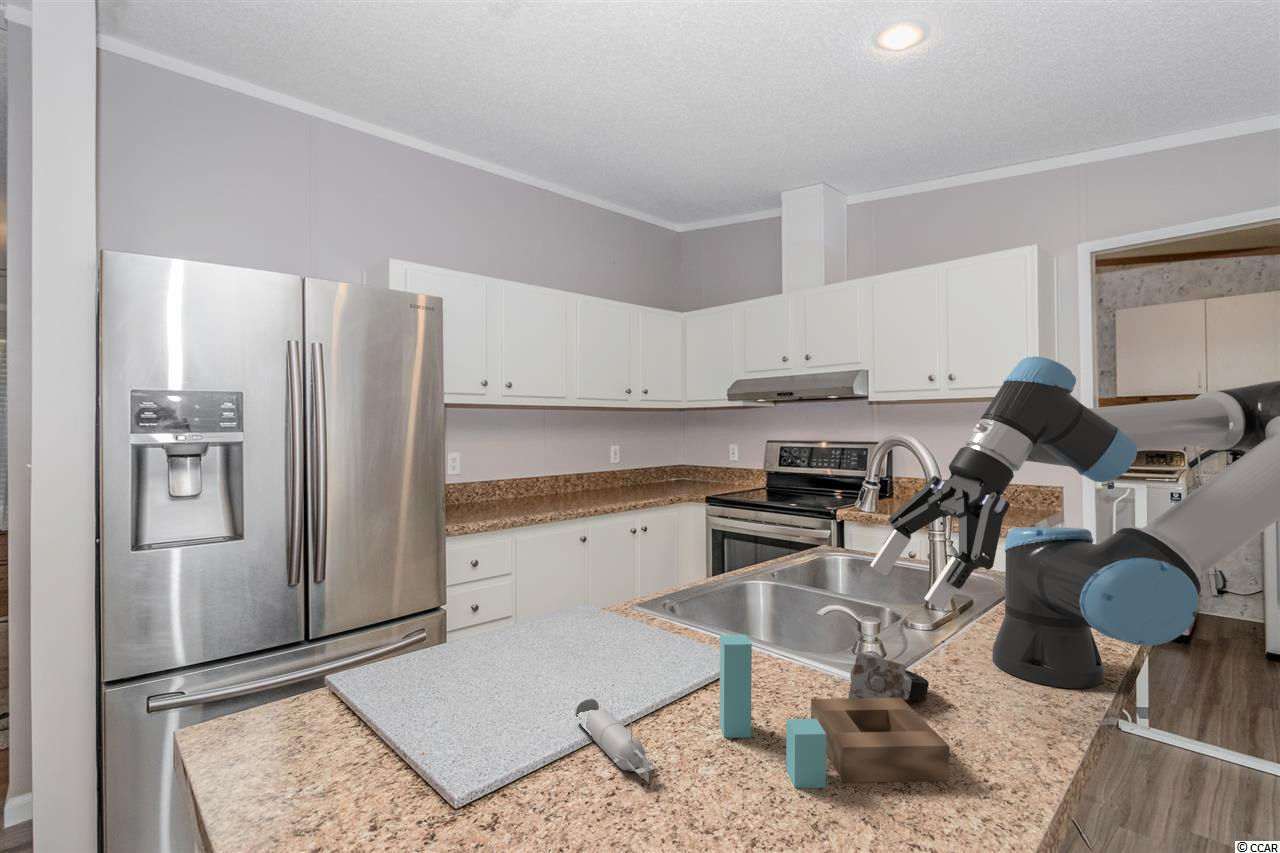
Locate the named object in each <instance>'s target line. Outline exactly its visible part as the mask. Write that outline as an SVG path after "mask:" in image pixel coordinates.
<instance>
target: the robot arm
mask: <svg viewBox="0 0 1280 853" xmlns="http://www.w3.org/2000/svg"><path fill="white" fill-rule="evenodd" d="M1076 383H1077V377H1076V376H1075V375H1074V374H1073V371H1072V370H1071V369H1069V367H1067V366H1065V365H1064V364H1062V363H1060V362H1058V361H1055V360H1053V359H1050V358H1046V357H1041V356H1032V357H1031V356H1030V357H1029V356H1028V357H1025V358H1023V359H1021V360H1020V361H1019V362H1018V363H1017V364H1016V366H1015V367H1013V369H1012V370H1011V372H1009V375H1008V376H1006V378H1005V379H1004V380H1003V382H1002V385H1001V387H1000V388H999V389H998V392H997V393H996V394H995V396H994V398H993V399H992V401H991V402H990V404H989V405H988V407H987V408H986V410H985V411H984V413H983V414H982V415H981V417H980V418H979V421H978V423H976V424H975V426H974V428H973V430H972V431H971V433H970V434H969V436H968V437H967V439H966V440H965V441H964V446H963V447H961V448H959V450H958V451H957V452H956V454H955V455H954V457H953V458H952V460H951V462H950V463H949V465H948V470H949V472H950V477H949V478H948V479H947V480H946V481H944V480H942V479H941V478H940V477H939V476H936V475H933V476H931V478H929V480H928V481H927V482H926V484H925V485H924V487H922V488H921V489H920V490H919V491H917V493H916V494H914V495H913V496H912V497H911V498H910V499H909V500H907V501H906V502H905V503H904V504H902V506H901V507H899V508H898V509H897V510H896V511H895V512H894V513H893V514H891V515H890V516H889V517H888V518H887V519H888V520H887V521H888V522H889V523H890V524H891V526H892V527H891V528H892V530H891V532H890V533H889V535H888V536H887V538H886V539H885V541H884V543H883V545H882V547H881V548H880V550H879V551H878V553H877V554H876V555H875V557H874V559H873V561H872V562H871V563H870V565H869V566H870V567H872V568H873V569H875V571H877V572H879V573H880V574H882V575H883V576H884V577H887V576H888V575H889V573H890V571H891V570H892V569H893V567H894V566H895V564H896V563H897V561H898V559H899V558H900V556H901V555H902V554H903V552H904V551H905V549H906V548H907V546H908V545H909V543H910V541H911V539H912V534H914V533H916V532H918V531H919V530H921V529H923V528H924V527H926V526H928V525H929V524H931V523H933V522H935V521H936V520H938V519H940V518H946V517H952V518H956V519H958V552H956V553H954V554H953V555H954V556H951V558H950V559H949V560H948V562H947V563H946V565H945V566H944V568H943V570H942V571H941V572H940V574H939V575H938V577H936V580H935V581H934V583H933V584H932V585H931V587H930V589H929V591H928V592H927V593H926V595H925V597H924V598H923V599H924V600H926V601H927V602H929V603H930V604H932V605H933V606H935V607H936V608H937V609H938V610H940V611H942V612H944V611H945V609H946V608H947V606H948V605H949V603H950V602H951V600H952V599H953V598H954V596H955V595H956V593H957V591H958V590H960V589H962V588H963V586H964V585H965V583H966V582H967V580H968V579H969V577H970V576H971V575H972V572H973V571H974V570H978V569H979V568H980V569H982V568H984V569H985V570H987V571H988V570H991V569H993V567H994V564H995V559H996V554H997V549H998V544H999V539H1000V535H1001V534H1000V533H1001V529H1002V526H1003V519H1004V518H1005V515H1006V513H1007V512H1008V509H1009V508H1010V505H1011V504H1010V502H1009V501H1008V500H1006V499H1005V498H1003V497H1002V495H1003V494H1004V492H1005V491H1006V490H1007V487H1008V486H1009V485H1010V483H1011V482H1012V480H1013V479H1014V477H1015V476H1014V475H1015V474H1014V472H1017V471H1020V469H1021V468H1022V466H1023V464H1024V463H1025V462H1031V463H1040V464H1046V465H1052V466H1053V465H1055V466H1062V467H1070V468H1072V469H1074V470H1075V471H1076V472H1078V474H1079V475H1080V476H1084V477H1086V478H1087V479H1089V480H1091V481H1094V482H1096V483H1105V482H1106V483H1108V482H1111V481H1114V480H1115V479H1118V478H1120V477H1121V476H1123V475H1124V474H1125V473H1126V472H1127V471H1129V469H1130V468H1131V465H1132V464H1133V463H1134V462H1135V460H1136V458H1137V456H1138V454H1137V453H1138V452H1141V451H1142V452H1143V451H1152V450H1153V451H1155V450H1167V449H1176V448H1177V449H1178V448H1188V447H1200V446H1201V447H1203V448H1205V449H1207V450H1211V451H1226V450H1240V451H1241V450H1243V451H1247V452H1246V453H1245V454H1243V455H1242V456H1240V457H1239V458H1238V459H1237V460H1235V461H1234V462H1232V463H1231V464H1230V465H1228V466H1227V467H1225V468H1224V469H1222V470H1221V471H1219V472H1218V473H1217V474H1215V475H1214V476H1213V477H1211V478H1210V479H1209V480H1207V481H1206V482H1204V483H1203V484H1201V486H1199V487H1198V488H1196V489H1195V490H1193V491H1192V492H1191V493H1189V494H1188V495H1186V496H1185V497H1184V498H1182V499H1181V500H1180V501H1178V502H1177V503H1176V504H1173V505H1172V506H1171V507H1169V508H1168V509H1167V510H1166V511H1164V512H1163V513H1162V514H1161V515H1159V516H1158V517H1156V518H1154V519H1153V520H1151V522H1149V523H1148V524H1147V525H1144V527H1137V526H1125V527H1123V528H1121V529H1119V530H1117V531H1116V532H1115V533H1113V534H1111V535H1110V536H1109V537H1107V538H1106V539H1105V540H1103V541H1102V542H1101V543H1099V544H1095V543H1094V538H1093V536H1092V535H1093V534H1092V532H1091V531H1090V530H1089V529H1086V528H1081V527H1080V528H1076V527H1058V526H1055V527H1053V526H1051V527H1050V526H1047V527H1046V526H1022V527H1021V526H1020V527H1014V528H1011V529H1009V531H1008V532H1007V534H1006V539H1005V540H1006V541H1005V548H1004V553H1005V577H1004V578H1005V585H1004V586H1005V587H1004V588H1005V591H1004V592H1005V593H1004V594H1005V595H1004V599H1005V600H1004V601H1005V602H1004V603H1005V605H1004V617H1003V620H1002V621H1001V622H1002V623H1001V625H1000V627H999V630H998V633H997V635H996V638H995V641H994V642H993V644H992V659H991V660H992V662H993V664H994V666H996V667H997V668H998V669H1000V670H1002V671H1003V672H1006V673H1008V674H1010V675H1011V676H1015V677H1016V678H1020V679H1022V680H1025V681H1028V682H1031V683H1032V682H1033V683H1037V684H1040V685H1044V686H1049V687H1057V688H1066V689H1067V688H1068V689H1088V688H1094V686H1095V687H1097V686H1100V685H1102V684H1103V682H1104V676H1105V674H1104V671H1105V670H1104V668H1105V667H1104V663H1103V660H1102V657H1101V655H1100V652H1099V649H1098V646H1097V643H1096V640H1095V638H1094V635H1093V632H1092V630H1093V629H1094V630H1095V631H1097V632H1098V633H1100V634H1101V635H1103V636H1106V637H1107V638H1111V639H1114V640H1119V641H1122V642H1124V643H1128V644H1131V645H1136V646H1141V647H1142V646H1143V647H1145V646H1146V647H1149V646H1158V645H1163V644H1166V643H1169V642H1171V641H1173V640H1175V639H1177V638H1178V637H1181V635H1183V633H1185V632H1186V631H1187V630H1188V629H1189V628H1190V627H1191V625H1192V624H1193V622H1194V620H1195V616H1194V615H1193V614H1194V612H1196V611H1198V609H1199V605H1200V603H1199V595H1200V594H1201V592H1203V588H1204V587H1203V580H1202V577H1203V575H1205V574H1206V573H1208V572H1209V571H1210V570H1211V569H1213V568H1214V567H1216V566H1217V565H1218V564H1220V563H1221V562H1222V561H1224V560H1226V559H1227V558H1228V557H1229V556H1230V555H1232V554H1233V553H1235V552H1236V551H1238V550H1239V549H1240V548H1242V547H1243V546H1244V545H1246V544H1247V543H1249V542H1250V541H1251V540H1253V539H1254V538H1256V537H1257V536H1258V535H1259V534H1261V533H1262V532H1264V531H1265V530H1266V529H1268V528H1269V527H1270V526H1272V525H1273V524H1275V523H1276V522H1277V521H1279V520H1280V380H1275V381H1268V382H1263V383H1262V382H1261V383H1259V384H1258V383H1257V384H1253V385H1252V384H1251V385H1247V386H1241V387H1236V388H1235V387H1234V388H1229V389H1222V390H1221V389H1220V390H1212V391H1206V392H1203V393H1201V394H1199V395H1197V396H1196V397H1195V398H1192V399H1191V398H1190V399H1180V400H1178V399H1177V400H1169V401H1158V402H1145V403H1133V404H1123V405H1112V406H1101V407H1089V408H1088V407H1087V406H1086V405H1084V404H1083V403H1081V402H1080V401H1079V400H1078V399H1077V398H1076V397H1075V396H1073V395H1071V394H1072V393H1073V391H1074V388H1075V385H1076ZM1091 628H1092V629H1091Z"/></svg>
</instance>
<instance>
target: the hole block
mask: <svg viewBox="0 0 1280 853" xmlns="http://www.w3.org/2000/svg"><path fill="white" fill-rule="evenodd" d="M810 719H817V720H818V722H819V724H820V725H821V727H822V728H823V730H824V731H825V733H826V757H827V758H828V760H829V761H830V763H831V765H832V766H833V768H834V770H835V772H836V773H837V774H838V776H839V778H840V779H841V781H842V782H843V783H845V784H848V783H849V784H852V783H894V782H895V783H896V782H900V783H901V782H946V781H949V778H950V777H949V774H950V773H949V772H950V771H949V770H950V766H949V764H950V745H949V744H948V743H947V742H946V741H945V740H944V739H943V738H942V737H941V735H939V734H938V733H937V732H936V731H935V730H934V729H933V727H931V726H930V725H929V724H928V723H927V721H925V719H923V718H922V717H921V716H920V715H919V714H918V712H916V711H915V710H914V708H912V707H911V706H910V705H909V704H908V703H907V702H906V700H904V699H902V698H811V699H810Z"/></svg>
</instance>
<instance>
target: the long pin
mask: <svg viewBox="0 0 1280 853" xmlns="http://www.w3.org/2000/svg"><path fill="white" fill-rule="evenodd" d="M752 647H753V646H752V643H751V640H750V639H749V637H748V635H747V634H719V726H720V729H721V732H722V736H723V738H724V739H727V738H732V739H733V738H752V674H753V673H752V667H753V665H752V664H753V663H752V661H753V660H752V659H753V658H752V653H753V650H752Z"/></svg>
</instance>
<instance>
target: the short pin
mask: <svg viewBox="0 0 1280 853" xmlns="http://www.w3.org/2000/svg"><path fill="white" fill-rule="evenodd" d="M785 725H786V731H785V733H786V736H785V737H786V738H785V739H786V740H785V742H786V746H785V747H786V748H785V750H786V751H785V753H786V754H785V758H786V759H785V763H786V764H785V767H786V768H785V770H786V773H787V775H788V777H789V779H790V781H791V783H792V785H793V787H794V789H814V788H815V789H818V788H822V789H823V788H826V787H827V755H826V733H825V731H824V730H823V728H822V727H821V725H820V724H819V722H818V720H817V719H811V718H789V719H788V718H787V719H786V724H785Z"/></svg>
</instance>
